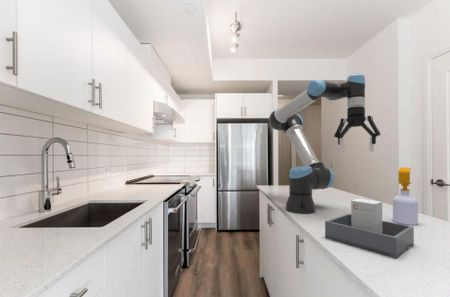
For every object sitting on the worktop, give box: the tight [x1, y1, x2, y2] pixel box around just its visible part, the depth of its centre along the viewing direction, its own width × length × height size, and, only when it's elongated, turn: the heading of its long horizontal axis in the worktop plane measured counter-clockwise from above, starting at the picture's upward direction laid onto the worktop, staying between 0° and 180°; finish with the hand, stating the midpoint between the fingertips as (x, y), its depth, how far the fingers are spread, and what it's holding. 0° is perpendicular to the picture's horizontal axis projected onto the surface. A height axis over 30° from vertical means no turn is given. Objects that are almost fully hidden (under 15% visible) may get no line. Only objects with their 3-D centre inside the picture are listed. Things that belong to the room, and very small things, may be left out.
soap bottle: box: [392, 166, 419, 226], centre depth 110 cm, size 9×9×25 cm
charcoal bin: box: [324, 213, 415, 259], centre depth 86 cm, size 22×18×6 cm
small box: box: [350, 198, 383, 234], centre depth 86 cm, size 8×6×13 cm
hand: (355, 151), depth 117 cm, fingers open, 13 cm apart
